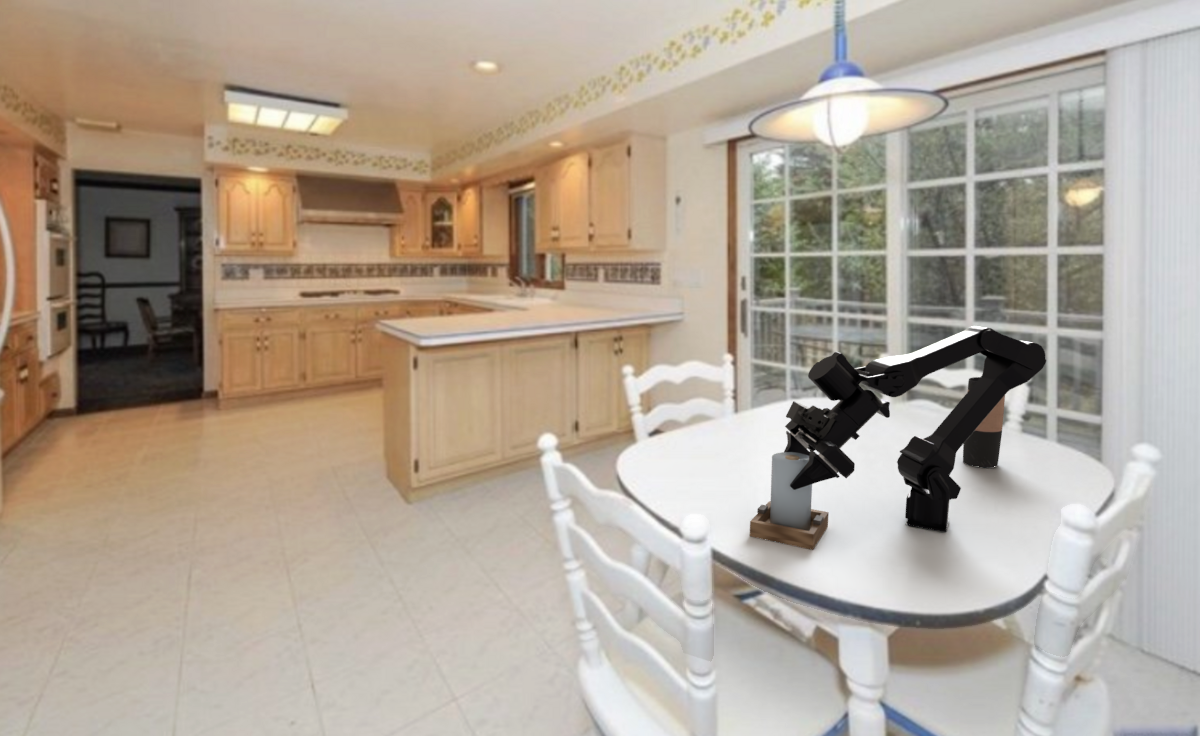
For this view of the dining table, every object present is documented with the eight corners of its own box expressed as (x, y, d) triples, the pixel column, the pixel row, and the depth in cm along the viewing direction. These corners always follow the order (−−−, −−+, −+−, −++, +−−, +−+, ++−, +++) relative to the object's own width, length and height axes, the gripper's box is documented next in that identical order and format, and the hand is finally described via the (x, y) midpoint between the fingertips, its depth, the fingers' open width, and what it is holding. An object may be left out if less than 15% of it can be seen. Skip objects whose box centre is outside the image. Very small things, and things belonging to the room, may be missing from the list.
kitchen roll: (806, 520, 120) (809, 451, 118) (813, 536, 113) (816, 463, 111) (767, 518, 121) (769, 450, 119) (772, 534, 114) (774, 462, 112)
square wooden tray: (828, 526, 119) (829, 508, 118) (813, 550, 109) (814, 530, 109) (768, 514, 124) (768, 497, 124) (749, 536, 115) (749, 517, 115)
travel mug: (956, 457, 157) (962, 376, 153) (990, 458, 156) (997, 377, 152) (969, 468, 149) (976, 383, 146) (1005, 469, 148) (1013, 383, 145)
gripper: (797, 377, 122) (738, 435, 123) (839, 398, 103) (769, 467, 105) (836, 416, 124) (778, 473, 125) (884, 444, 105) (815, 511, 106)
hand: (783, 479), depth 115 cm, fingers open, 8 cm apart
